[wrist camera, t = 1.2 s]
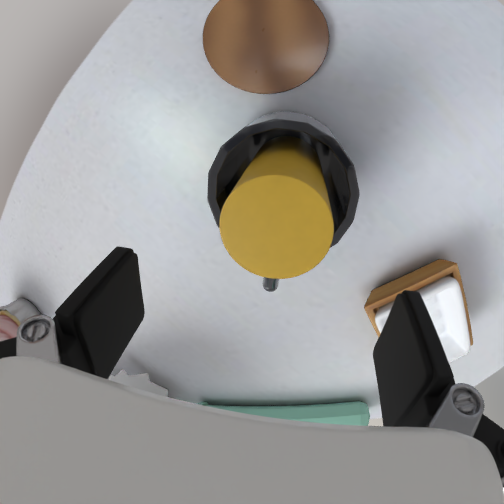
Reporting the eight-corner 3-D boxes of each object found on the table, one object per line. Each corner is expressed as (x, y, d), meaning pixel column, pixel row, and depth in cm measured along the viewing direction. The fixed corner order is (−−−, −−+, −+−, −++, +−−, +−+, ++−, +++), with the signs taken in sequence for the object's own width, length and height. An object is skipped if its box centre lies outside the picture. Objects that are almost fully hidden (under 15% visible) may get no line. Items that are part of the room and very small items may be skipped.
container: (373, 433, 34) (191, 435, 39) (368, 437, 39) (205, 439, 44) (371, 392, 38) (195, 397, 43) (366, 400, 42) (208, 405, 47)
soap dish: (358, 284, 31) (365, 317, 26) (443, 243, 27) (463, 271, 23) (393, 356, 35) (400, 388, 31) (463, 324, 31) (477, 353, 27)
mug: (235, 105, 24) (211, 112, 18) (352, 121, 23) (371, 134, 17) (226, 245, 31) (205, 291, 24) (325, 260, 30) (329, 310, 24)
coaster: (295, -32, 17) (294, -34, 17) (348, 68, 21) (349, 68, 21) (185, 16, 21) (183, 15, 20) (235, 112, 25) (234, 113, 24)
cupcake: (47, 342, 46) (18, 381, 37) (10, 309, 44) (-22, 345, 35) (55, 316, 41) (20, 360, 33) (14, 279, 40) (-24, 317, 31)
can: (305, 125, 24) (309, 156, 13) (330, 187, 26) (348, 260, 16) (242, 151, 26) (199, 200, 15) (269, 209, 28) (248, 291, 17)
